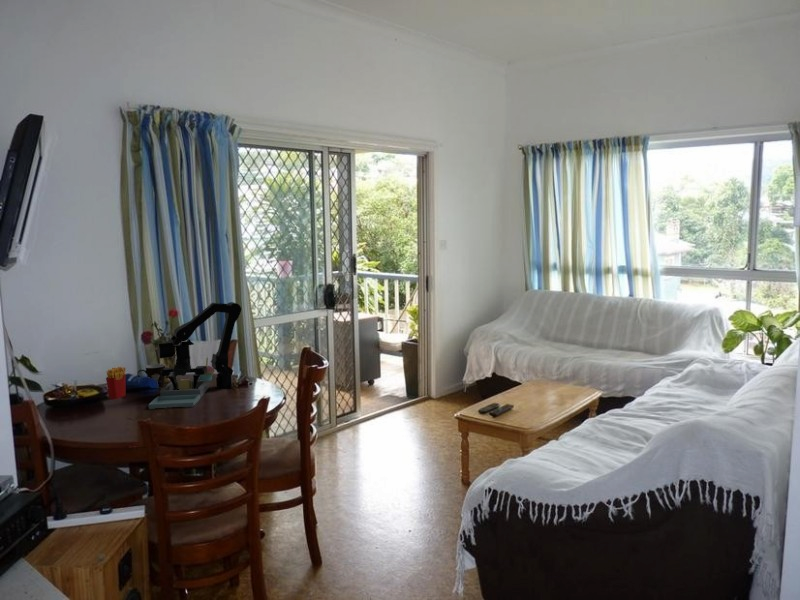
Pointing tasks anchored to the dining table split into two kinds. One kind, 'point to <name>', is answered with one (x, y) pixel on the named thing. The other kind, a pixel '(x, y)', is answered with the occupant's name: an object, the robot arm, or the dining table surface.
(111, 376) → the french fries
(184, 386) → the block
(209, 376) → the cupcake
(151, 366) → the coffee mug
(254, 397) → the dining table surface
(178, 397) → the tray
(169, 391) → the bin
